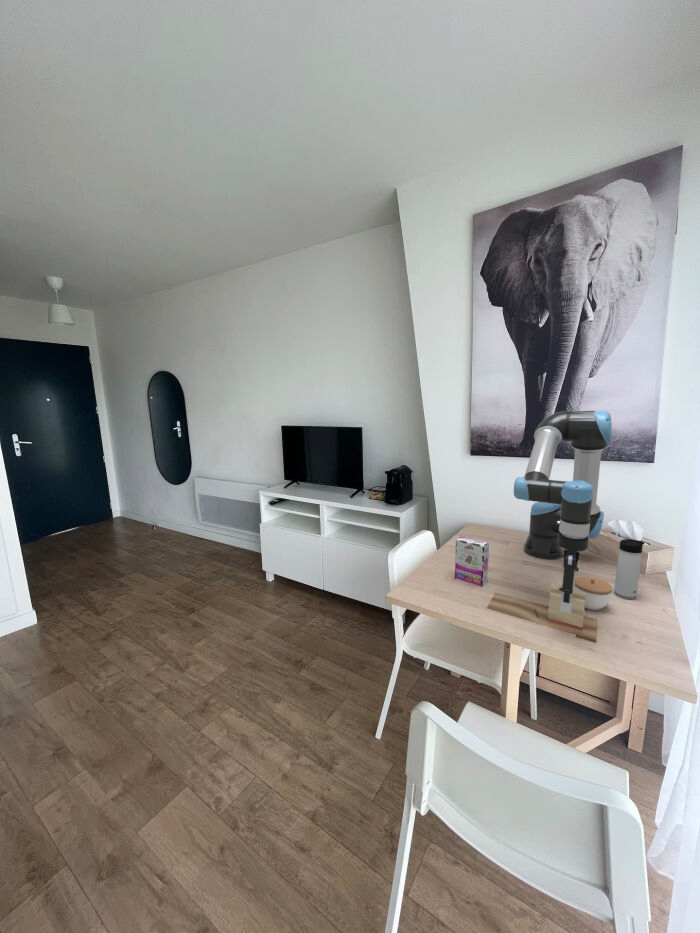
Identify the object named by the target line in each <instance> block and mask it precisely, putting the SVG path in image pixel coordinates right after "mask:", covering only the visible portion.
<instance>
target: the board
mask: <svg viewBox="0 0 700 933" xmlns="http://www.w3.org/2000/svg"><path fill="white" fill-rule="evenodd" d="M486 609H487V610H490V611H493V612H497V613H500V614H503V615H504V614H505V615H508V616H512V617H514V618H518V619H521V620H525V621H528V622H532V623H536V624H539V625H542V626H546V627H548V628H552V629H555V630H560V631H562V632H566V633H569V634H573V635H575V638H577V639H580V640H585V641H588V642H591V643H595V644H597V642H598V640H597V637H598V619H597V618H593V617H590V616H586V615H584V619H583V629H582V630H578V629H575V628H571V627H568V626H564V625H561V624H557V623H554V622H550V621H548V611H549V605H544V604H539V603H537V602H533V601H528V600H525V599H521V598H517V597H514V596H510V595H507V594H502V593H498V592H494V594H493V596H492V598H491V599H490V601H489V603H488V605H487V606H486Z"/></svg>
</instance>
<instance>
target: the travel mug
mask: <svg viewBox="0 0 700 933" xmlns="http://www.w3.org/2000/svg"><path fill="white" fill-rule="evenodd" d="M643 545H645V542H644V541H643V540H637V539H630V538H629V539H628V538H626V539H621V540H620V542H619V546H618V547H619V548H618V553H617V554H618V556H617V564H616V572H615V580H614V590H613V592H614V594H615V595H616V596H617V597H620V598H622V599H626V600H635V599H637V597H638V596H637V595H638V589H639V588H638V587H639V581H640V580H639V579H640V572H641V571H640V570H641V564H642V557H643V547H644V546H643Z"/></svg>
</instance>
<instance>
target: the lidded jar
mask: <svg viewBox="0 0 700 933" xmlns="http://www.w3.org/2000/svg"><path fill="white" fill-rule="evenodd" d="M574 591H578V592H582V593H586V598H585V609H587V610H591V611H599V610H602V608H605V607H606V606H608V604H609V602H610V601H611V597H612V592H613V587H612V585H611V584H610V583H608V582H607V581H605V580H603V579H600V578H597V577H593V576H586V575H585V576H584V575H581V576H580V575H579V576H576V577H575V588H574Z"/></svg>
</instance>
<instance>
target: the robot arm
mask: <svg viewBox="0 0 700 933" xmlns="http://www.w3.org/2000/svg"><path fill="white" fill-rule="evenodd" d="M533 439H534V443H533V447H532V450H531V453H530V456H529V459H528V464H527V466H526V470H525V474H524V475H523V476H519V477H516V478H515V480H514V484H513V496H514V497H515V499H517V500H522V501H527V502H534V503H533V504H532V505H531V509H530V512H529V515H530V520H529V521H530V522H529V534H528V536H527V538H526V540H525V542H524V544H523V551H524V552H525V553H526V554H527V555H530V557H535V558H537V559H543V560H558V559H561V557H563V558H562V559H563V561H562V562H563V564H562V568H563V576H562V586H561V588H559V590H561V591H562V593H561V605H560V611H564V612H568V613H571V607H572V596H573V591H574V588H575V578H576V577H577V576H576V575H577V572H579V569H580V568H579V567H578V563H579V561H580V556H581V554H580V552H584V551H586V550H587V549H588V548H589V547H588V545H589V539H597V538H598V537H599V535H600V534H601V530H602V527H603V521H604V516H605V513H604V512H603V511H601V508H600V506H599V505H598V504H597V497H598V488H599V478H600V469H601V467H600V466H601V461H602V460H601V458H602V451H603V450H605V449H607V447H608V444H610V443H612V442H613V426H612V415H611V413H610V412H608V411H604V410H603V411H600V410H579V411H578V410H574V411H573V410H572V411H571V410H568V411H567V410H562V411H558V412H555V413H552V414H550V415H549V416H547V417H545V418H544V419H543V420H542V421H541V422H540V423H539V424H538V425H537V427H536V428H535V431H534V434H533ZM561 442H570V446H571V447H572V449H573V450H574V462H573V473H572V474H573V475H572V480H569V481H568V480H556V479H555V480H554V479H553V480H552V479H550V478H551V474H552V469H553V465H554V461H555V455H556V451H557V448H558V445H559V444H560V443H561ZM563 549H564V550H563Z"/></svg>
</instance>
